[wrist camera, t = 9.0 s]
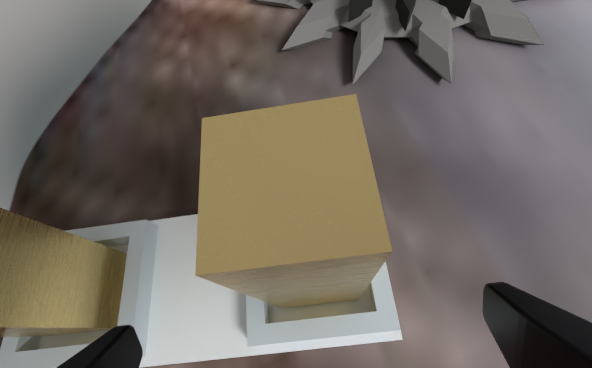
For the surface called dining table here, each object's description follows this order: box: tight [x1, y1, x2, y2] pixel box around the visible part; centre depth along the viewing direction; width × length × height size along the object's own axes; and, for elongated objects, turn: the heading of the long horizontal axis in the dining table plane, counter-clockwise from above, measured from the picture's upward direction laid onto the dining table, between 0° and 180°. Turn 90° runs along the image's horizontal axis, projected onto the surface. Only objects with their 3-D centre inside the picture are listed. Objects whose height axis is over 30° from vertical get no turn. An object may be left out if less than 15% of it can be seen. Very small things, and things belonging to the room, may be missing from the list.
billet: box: [195, 94, 392, 308], centre depth 14 cm, size 4×4×12 cm
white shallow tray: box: [0, 214, 403, 368], centre depth 19 cm, size 9×23×2 cm, turn 96°
